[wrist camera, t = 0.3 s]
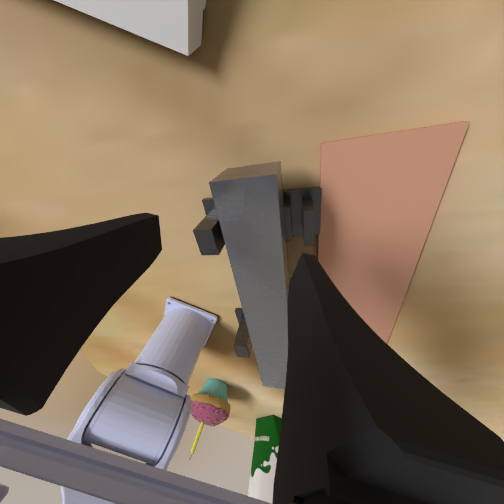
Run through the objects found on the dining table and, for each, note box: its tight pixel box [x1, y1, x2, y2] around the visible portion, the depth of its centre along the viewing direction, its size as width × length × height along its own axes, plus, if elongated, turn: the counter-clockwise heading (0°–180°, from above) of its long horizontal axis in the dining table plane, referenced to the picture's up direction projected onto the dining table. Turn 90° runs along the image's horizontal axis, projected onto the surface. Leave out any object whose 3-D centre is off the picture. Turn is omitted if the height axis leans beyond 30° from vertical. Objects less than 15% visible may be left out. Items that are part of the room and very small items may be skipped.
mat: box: [318, 121, 470, 344], centre depth 21 cm, size 27×9×1 cm, turn 9°
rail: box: [209, 161, 289, 389], centre depth 20 cm, size 26×4×4 cm, turn 9°
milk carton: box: [248, 415, 282, 503], centre depth 43 cm, size 9×9×20 cm
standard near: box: [193, 187, 322, 255], centre depth 17 cm, size 4×11×5 cm, turn 99°
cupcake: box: [189, 379, 230, 460], centre depth 39 cm, size 9×8×12 cm
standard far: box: [234, 308, 252, 357], centre depth 26 cm, size 4×11×5 cm, turn 99°
